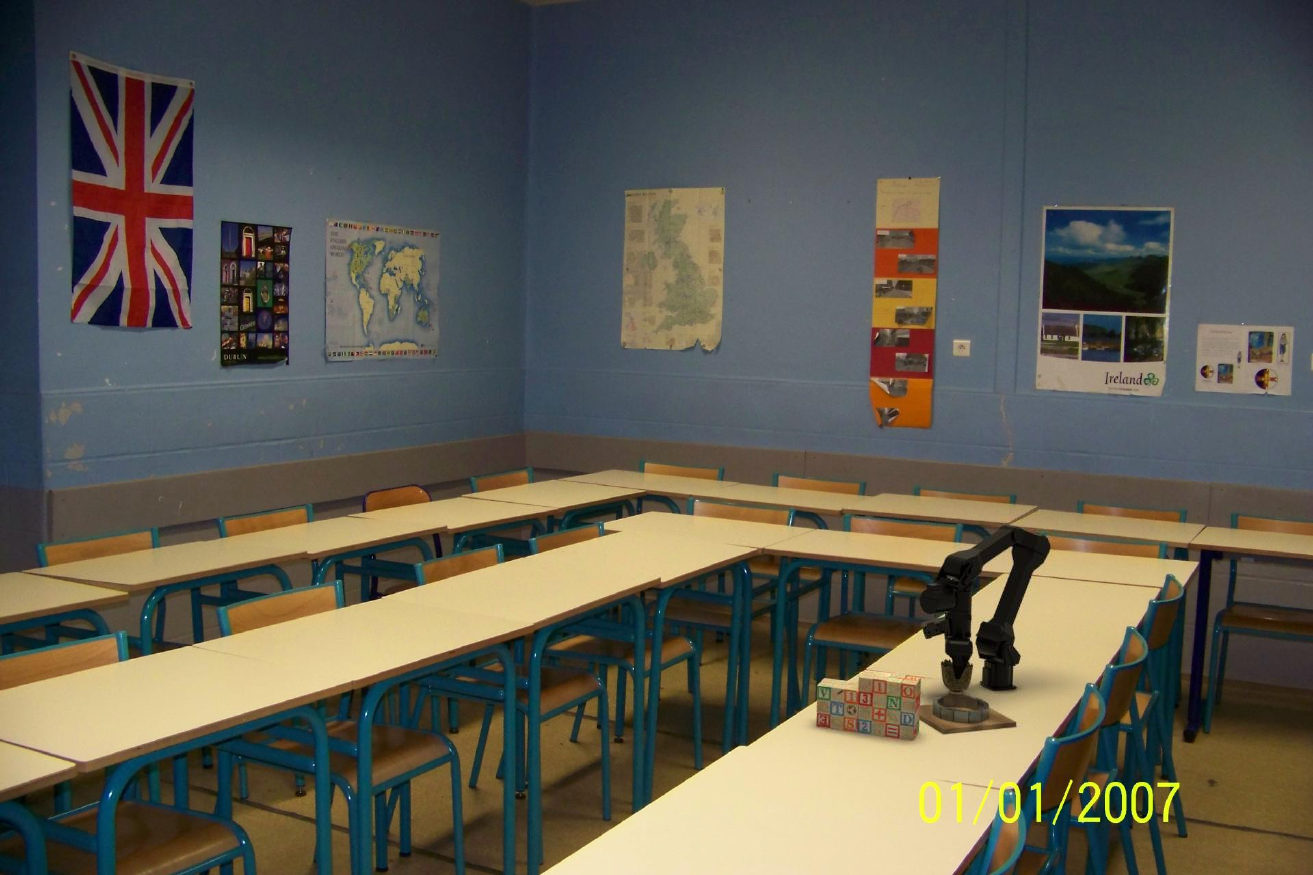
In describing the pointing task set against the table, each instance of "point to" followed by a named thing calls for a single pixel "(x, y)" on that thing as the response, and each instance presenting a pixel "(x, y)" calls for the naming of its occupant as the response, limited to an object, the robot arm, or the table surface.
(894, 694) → the stack of blocks
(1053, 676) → the table surface
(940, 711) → the gray stone ring
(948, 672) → the cup
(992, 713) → the base plate
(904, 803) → the table surface
